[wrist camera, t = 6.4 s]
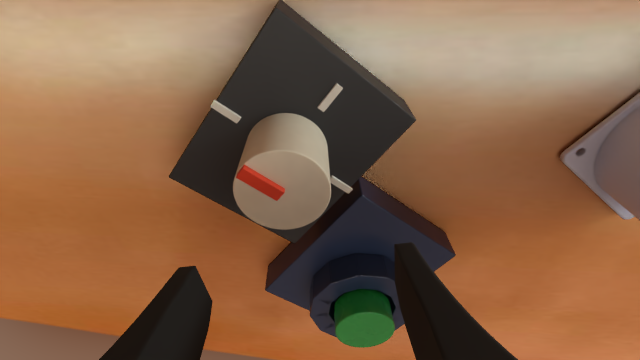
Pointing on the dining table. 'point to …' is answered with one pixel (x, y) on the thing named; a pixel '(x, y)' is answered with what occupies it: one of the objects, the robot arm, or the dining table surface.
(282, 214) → the dimmer knob
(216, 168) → the dimmer panel
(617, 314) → the dining table surface
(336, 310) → the button
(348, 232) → the switch box
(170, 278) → the robot arm
